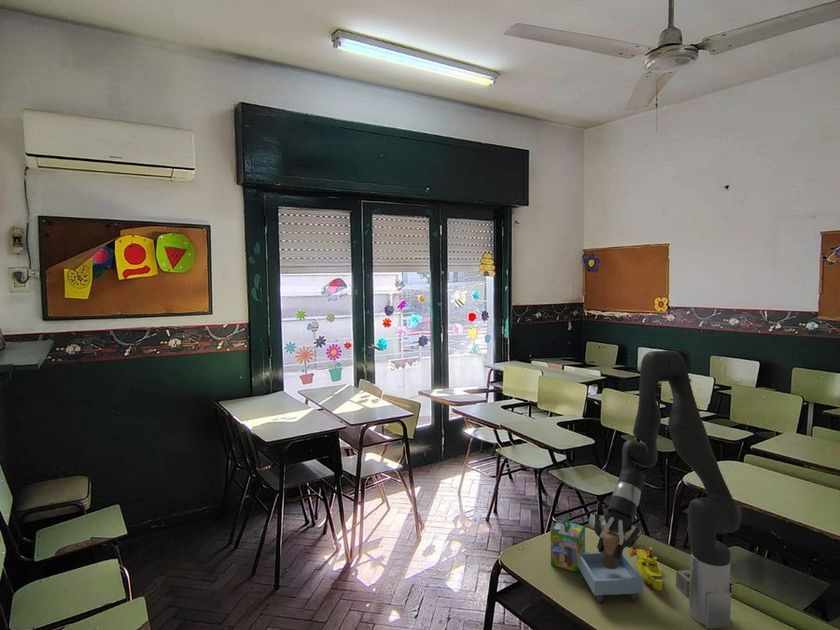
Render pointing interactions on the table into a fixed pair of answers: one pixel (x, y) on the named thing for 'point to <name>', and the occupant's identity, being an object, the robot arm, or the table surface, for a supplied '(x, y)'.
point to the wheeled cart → (610, 576)
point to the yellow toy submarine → (648, 567)
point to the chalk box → (567, 544)
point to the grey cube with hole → (683, 581)
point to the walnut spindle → (610, 550)
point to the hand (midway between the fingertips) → (608, 554)
